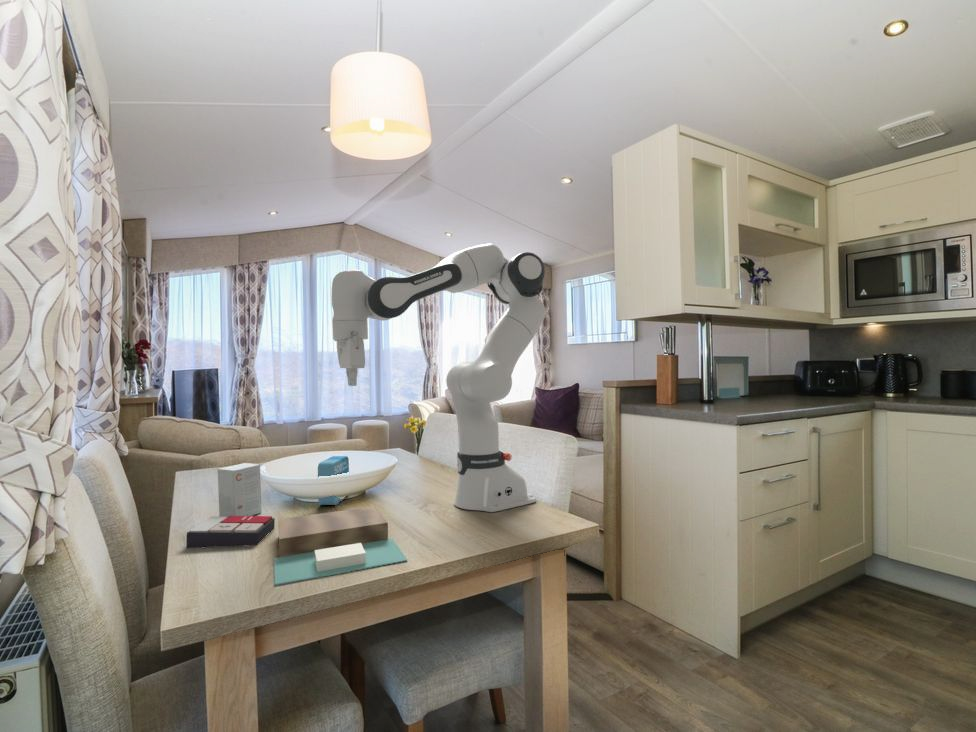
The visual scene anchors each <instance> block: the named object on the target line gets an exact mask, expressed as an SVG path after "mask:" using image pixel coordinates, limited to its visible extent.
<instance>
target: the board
mask: <svg viewBox="0 0 976 732" xmlns="http://www.w3.org/2000/svg"><path fill="white" fill-rule="evenodd" d="M388 524H389V523H388V520H387V519H386V518H385V517H384V515H383V514H382V513H381V512H380V510H379V508H378V507H377V506H376V505H375V506H373V505H372V506H367V507H366V506H365V507H360V508H351V509H345V510H337V511H331V512H320V513H315V514H306V515H301V516H294V517H287V518H278V547H279V550H278V551H279V557H284V556H290V555H296V554H302V553H308V552H314V551H315V550H319V549H325V548H332V547H338V546H344V545H350V544H356V543H361V544H363V543H369V542H375V541H381V540H387V539H389V525H388Z"/></svg>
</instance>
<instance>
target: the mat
mask: <svg viewBox="0 0 976 732" xmlns="http://www.w3.org/2000/svg"><path fill="white" fill-rule="evenodd" d="M362 546H363V548H364V550H365V552H366V563H364V564H358V565H353V566H347V567H342V568H336V569H330V570H325V571H319V572H317V569H316V564H315V551H314V552H308V553H302V554H296V555H290V556H284V557H280V556H279V557H274V558H273V559H274V565H273V566H274V567H273V568H274V570H273V571H274V572H273V573H274V578H273V579H274V587H276V586H282V585H288V584H291V583H298V582H303V581H308V580H309V581H310V580H314V579H319V578H325V577H330V576H335V575H340V574H341V573H342V574H346V572H347V573H351V571H352V572H357V571H356V570H358V571H363V570H368V569H373V567H374V568H379V567H383V565H385V566H389V565H388V564H390V565H394V564H393V563H395V564H399V563H398V562H401V563H404V562H403V561H406V562H408V559H407V557H406V555H405V554H404V553H403V551H402V550H401V548H400V547H399V545H398V544H397V542H396V541H395V540H394V539H393V538H388V539H387V540H381V541H375V542H369V543H363V544H362ZM378 566H379V567H378ZM367 568H368V569H367ZM362 569H363V570H362ZM342 574H341V575H342Z"/></svg>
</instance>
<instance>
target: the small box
mask: <svg viewBox="0 0 976 732" xmlns="http://www.w3.org/2000/svg"><path fill="white" fill-rule="evenodd" d="M261 483H262V482H261V465H260V464H258V463H249V462H243V463H239V464H234V465H229V466H225V467H220V468H217V485H218V487H217V488H218V490H217V493H218V513H219V516H218V517H229V516H257V515H259V514H262V487H261V486H262V485H261Z"/></svg>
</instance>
